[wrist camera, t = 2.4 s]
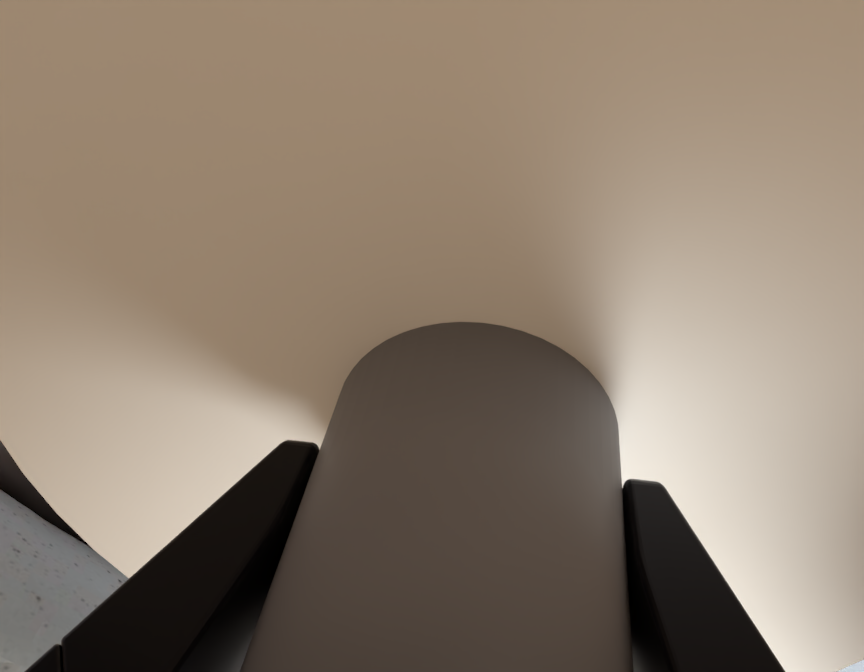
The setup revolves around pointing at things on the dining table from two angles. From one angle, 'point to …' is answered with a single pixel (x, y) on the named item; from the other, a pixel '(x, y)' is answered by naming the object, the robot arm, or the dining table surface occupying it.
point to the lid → (447, 305)
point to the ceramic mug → (44, 584)
